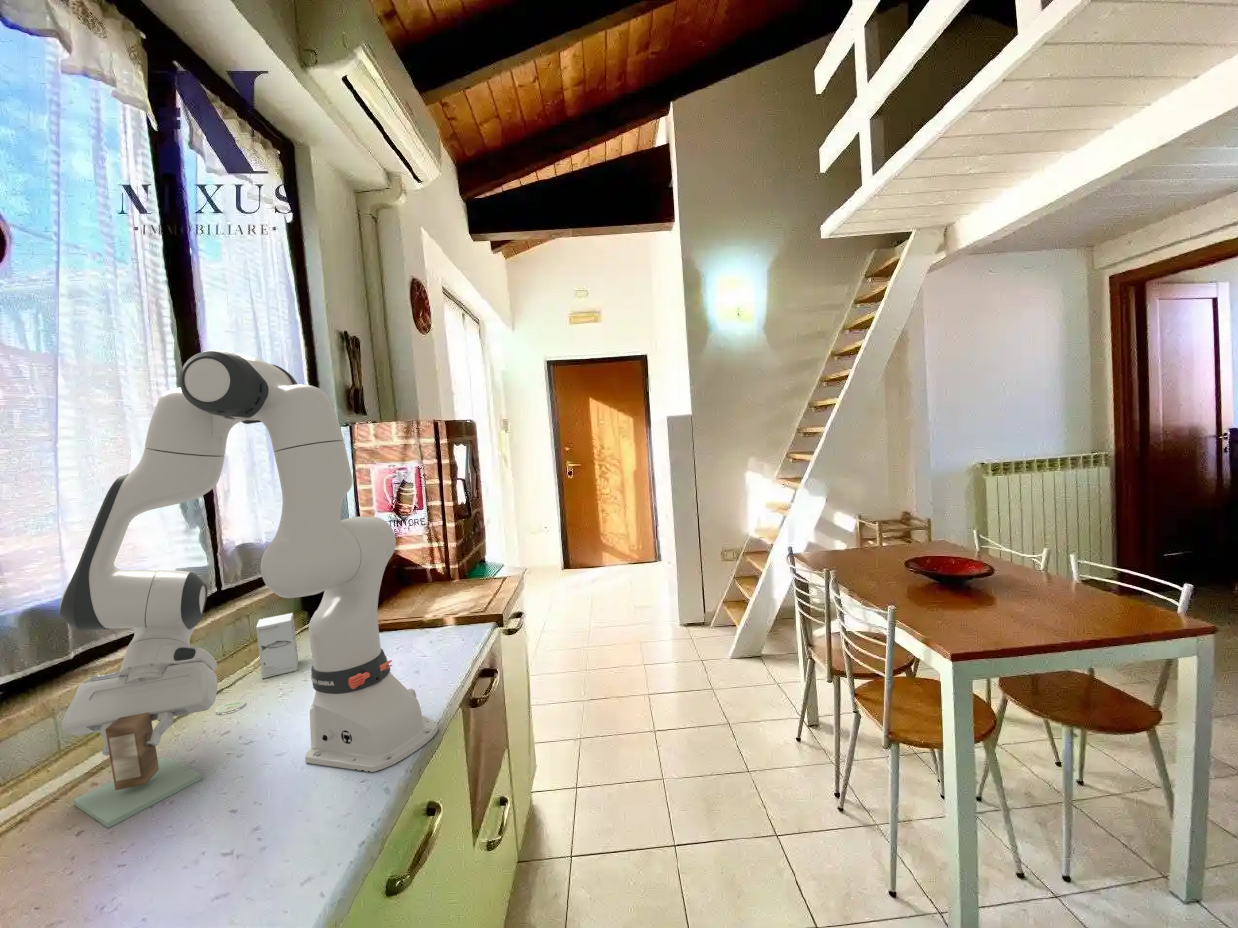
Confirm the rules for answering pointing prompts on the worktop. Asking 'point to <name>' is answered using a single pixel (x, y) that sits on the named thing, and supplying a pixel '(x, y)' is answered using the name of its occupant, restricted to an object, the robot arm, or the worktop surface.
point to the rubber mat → (136, 793)
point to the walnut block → (131, 751)
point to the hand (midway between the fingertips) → (130, 749)
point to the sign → (230, 706)
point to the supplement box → (277, 645)
